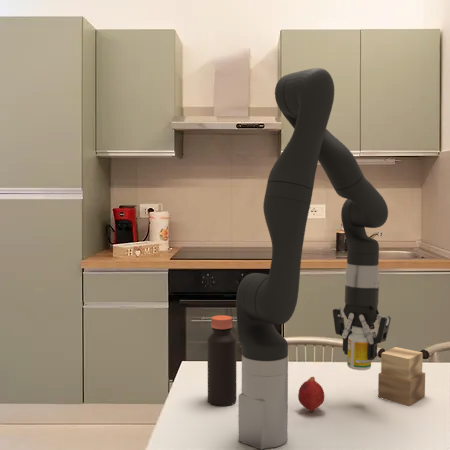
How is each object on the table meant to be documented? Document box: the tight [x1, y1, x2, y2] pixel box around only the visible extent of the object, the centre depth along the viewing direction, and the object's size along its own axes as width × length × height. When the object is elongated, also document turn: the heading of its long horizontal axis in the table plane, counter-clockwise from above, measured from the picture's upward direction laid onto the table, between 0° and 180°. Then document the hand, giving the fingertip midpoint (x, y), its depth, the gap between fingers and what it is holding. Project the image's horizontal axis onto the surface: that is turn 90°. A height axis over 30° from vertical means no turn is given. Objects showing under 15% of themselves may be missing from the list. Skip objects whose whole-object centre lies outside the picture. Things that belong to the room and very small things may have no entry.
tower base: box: [377, 371, 426, 407], centre depth 140 cm, size 8×8×6 cm
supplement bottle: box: [346, 326, 372, 371], centre depth 135 cm, size 5×5×10 cm
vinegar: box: [206, 315, 237, 407], centre depth 137 cm, size 7×7×20 cm
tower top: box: [380, 346, 423, 380], centre depth 140 cm, size 7×7×5 cm
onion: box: [297, 376, 325, 413], centre depth 131 cm, size 6×6×8 cm
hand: (359, 356), depth 135 cm, fingers closed on supplement bottle, 5 cm apart
